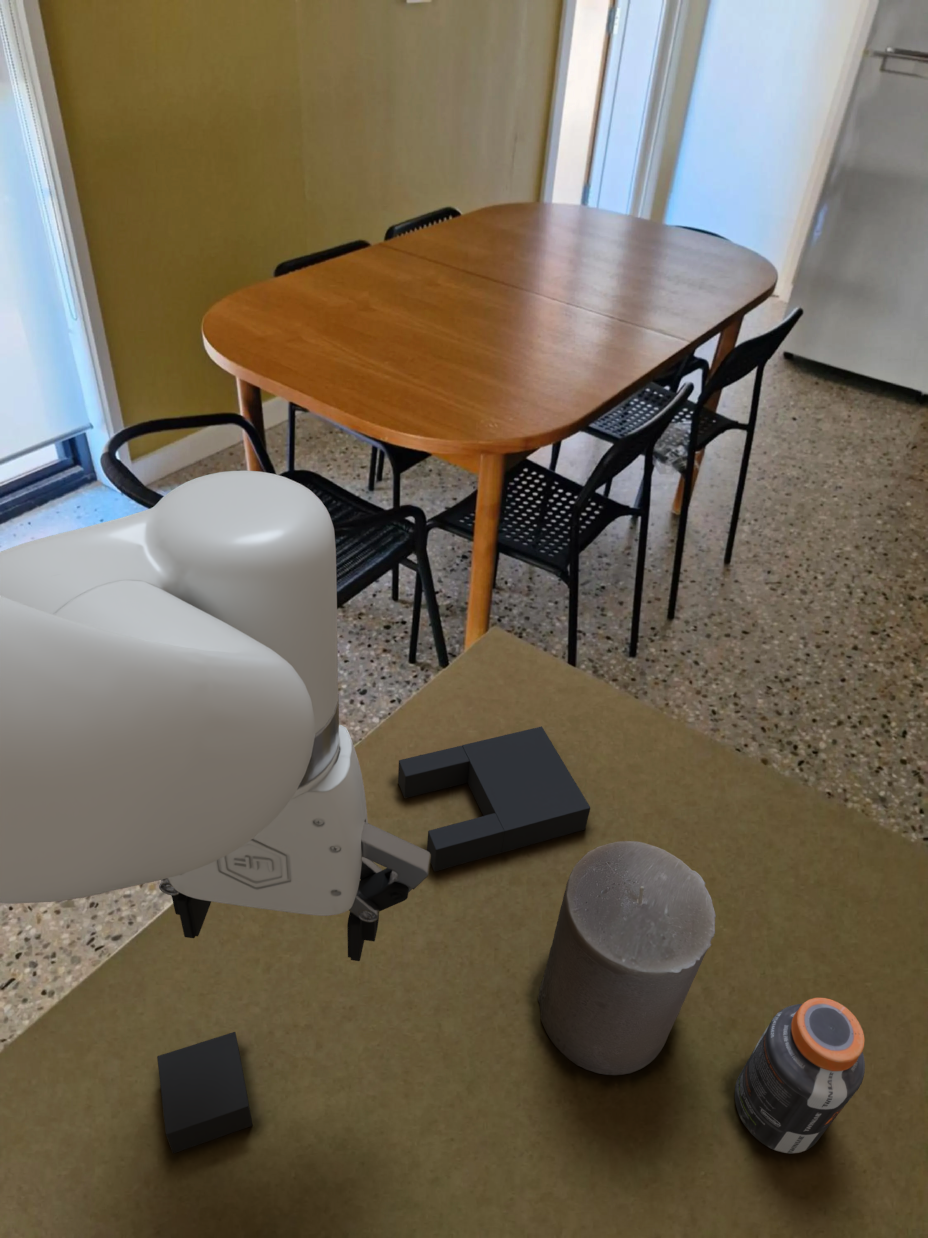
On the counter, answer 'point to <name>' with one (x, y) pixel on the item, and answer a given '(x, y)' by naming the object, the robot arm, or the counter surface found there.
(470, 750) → the large pad
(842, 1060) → the pill bottle
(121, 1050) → the counter surface
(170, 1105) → the small pad
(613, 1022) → the pillar candle
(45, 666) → the robot arm
